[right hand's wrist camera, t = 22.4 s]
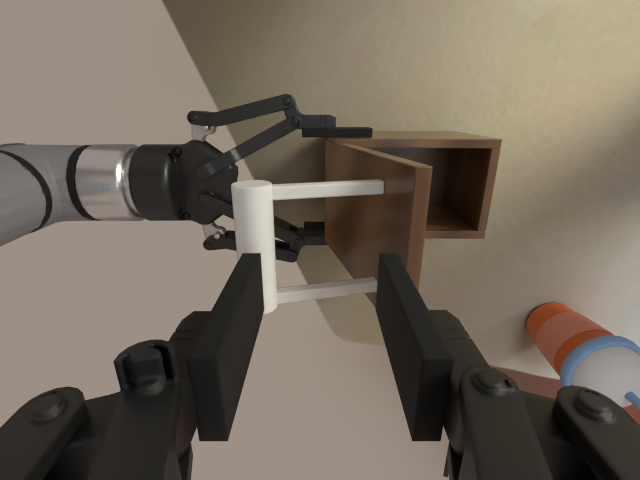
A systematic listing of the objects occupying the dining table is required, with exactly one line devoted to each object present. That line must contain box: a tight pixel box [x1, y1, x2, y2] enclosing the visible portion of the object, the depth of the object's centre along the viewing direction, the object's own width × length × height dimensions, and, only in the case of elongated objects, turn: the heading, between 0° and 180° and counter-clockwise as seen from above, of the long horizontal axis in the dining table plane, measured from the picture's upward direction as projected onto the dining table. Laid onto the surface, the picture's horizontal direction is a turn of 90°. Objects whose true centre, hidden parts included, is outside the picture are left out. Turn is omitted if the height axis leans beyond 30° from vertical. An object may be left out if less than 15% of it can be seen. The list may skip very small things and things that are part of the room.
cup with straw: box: [526, 303, 640, 411], centre depth 41 cm, size 9×9×18 cm
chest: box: [328, 132, 502, 239], centre depth 36 cm, size 15×9×11 cm, turn 90°
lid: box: [231, 139, 433, 315], centre depth 23 cm, size 15×9×9 cm
